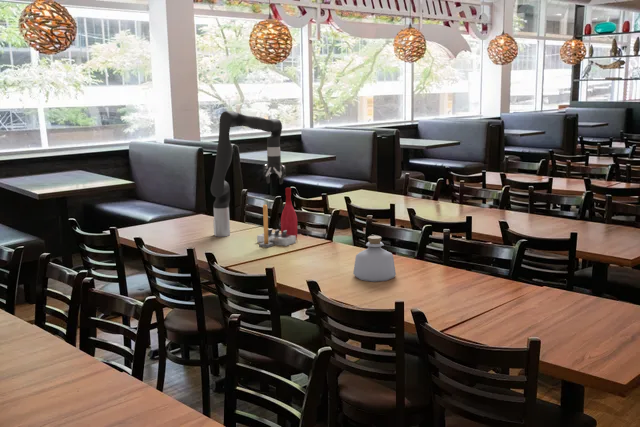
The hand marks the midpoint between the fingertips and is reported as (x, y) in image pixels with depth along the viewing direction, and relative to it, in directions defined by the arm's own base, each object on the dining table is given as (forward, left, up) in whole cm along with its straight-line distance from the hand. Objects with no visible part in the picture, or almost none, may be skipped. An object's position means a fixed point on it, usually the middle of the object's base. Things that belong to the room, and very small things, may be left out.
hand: (274, 183), depth 374 cm
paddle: (-3, +4, -30) cm, 30 cm away
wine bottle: (+11, +8, -34) cm, 37 cm away
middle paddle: (0, 0, -30) cm, 30 cm away
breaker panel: (0, 0, -34) cm, 34 cm away
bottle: (+23, -84, -35) cm, 94 cm away
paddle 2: (+3, -4, -30) cm, 30 cm away
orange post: (-8, -6, -34) cm, 36 cm away
